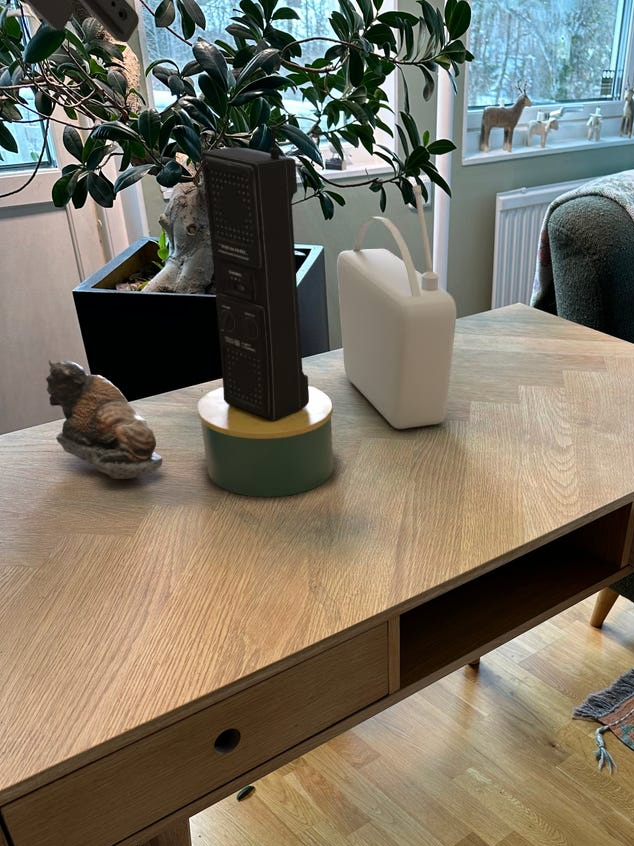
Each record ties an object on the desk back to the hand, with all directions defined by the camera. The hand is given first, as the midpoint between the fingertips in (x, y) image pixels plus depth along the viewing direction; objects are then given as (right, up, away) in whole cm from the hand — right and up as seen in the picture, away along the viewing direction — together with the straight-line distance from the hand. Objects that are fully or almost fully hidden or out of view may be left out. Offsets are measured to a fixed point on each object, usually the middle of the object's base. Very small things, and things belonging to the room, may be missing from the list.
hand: (96, 26), depth 63 cm
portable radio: (+5, -20, +27) cm, 34 cm away
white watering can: (+17, -14, +47) cm, 52 cm away
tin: (+5, -26, +31) cm, 40 cm away
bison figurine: (-11, -26, +29) cm, 40 cm away
